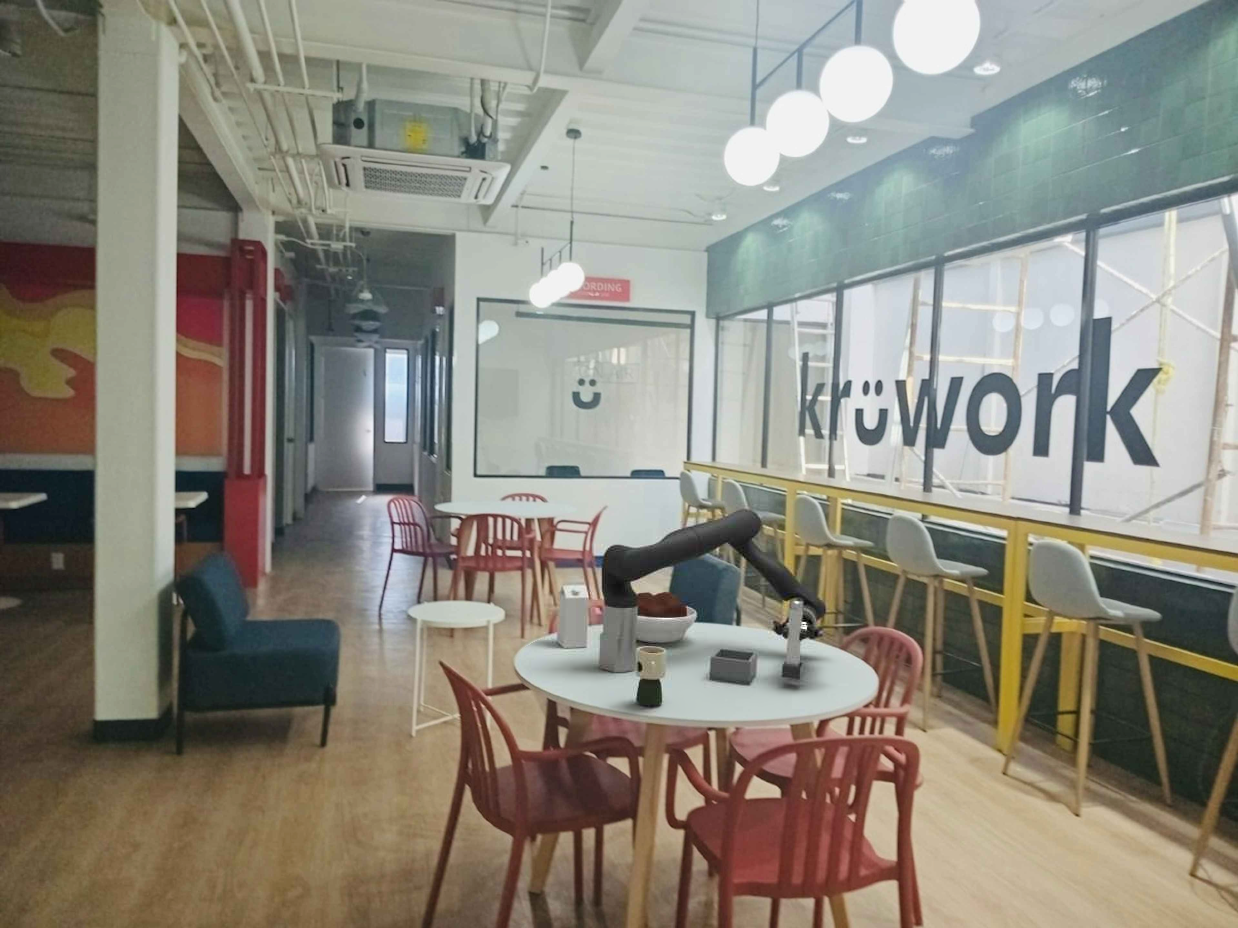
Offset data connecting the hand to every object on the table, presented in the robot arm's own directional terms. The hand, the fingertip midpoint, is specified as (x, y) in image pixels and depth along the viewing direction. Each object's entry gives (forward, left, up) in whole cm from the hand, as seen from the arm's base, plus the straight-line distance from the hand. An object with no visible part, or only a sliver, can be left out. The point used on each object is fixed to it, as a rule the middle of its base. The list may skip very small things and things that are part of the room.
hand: (793, 635), depth 222 cm
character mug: (-37, +17, -14) cm, 43 cm away
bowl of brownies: (+14, +55, -14) cm, 58 cm away
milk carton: (-11, +67, -14) cm, 69 cm away
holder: (-2, +16, -14) cm, 21 cm away
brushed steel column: (+3, +1, -11) cm, 11 cm away
